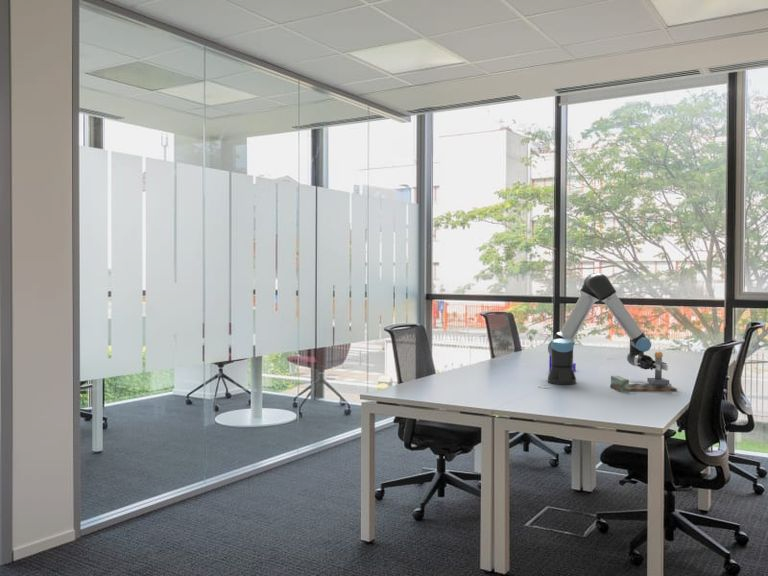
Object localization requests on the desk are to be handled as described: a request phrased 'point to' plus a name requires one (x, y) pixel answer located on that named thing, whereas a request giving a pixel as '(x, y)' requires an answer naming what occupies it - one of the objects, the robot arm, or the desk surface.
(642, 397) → the desk surface
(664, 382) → the lever
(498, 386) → the desk surface
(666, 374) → the desk surface
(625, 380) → the track bed
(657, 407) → the desk surface
